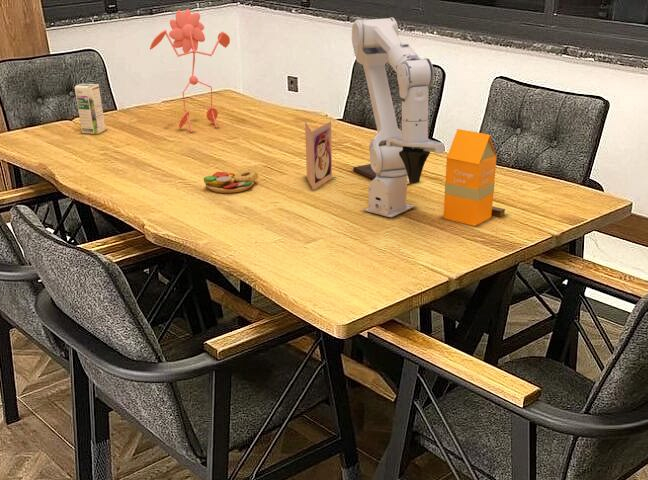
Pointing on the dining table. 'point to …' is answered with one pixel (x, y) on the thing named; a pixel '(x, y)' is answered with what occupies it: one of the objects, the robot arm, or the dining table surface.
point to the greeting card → (318, 155)
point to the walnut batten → (497, 211)
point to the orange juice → (470, 178)
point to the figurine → (187, 37)
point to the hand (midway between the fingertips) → (414, 182)
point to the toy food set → (231, 181)
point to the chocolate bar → (368, 171)
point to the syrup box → (90, 108)
